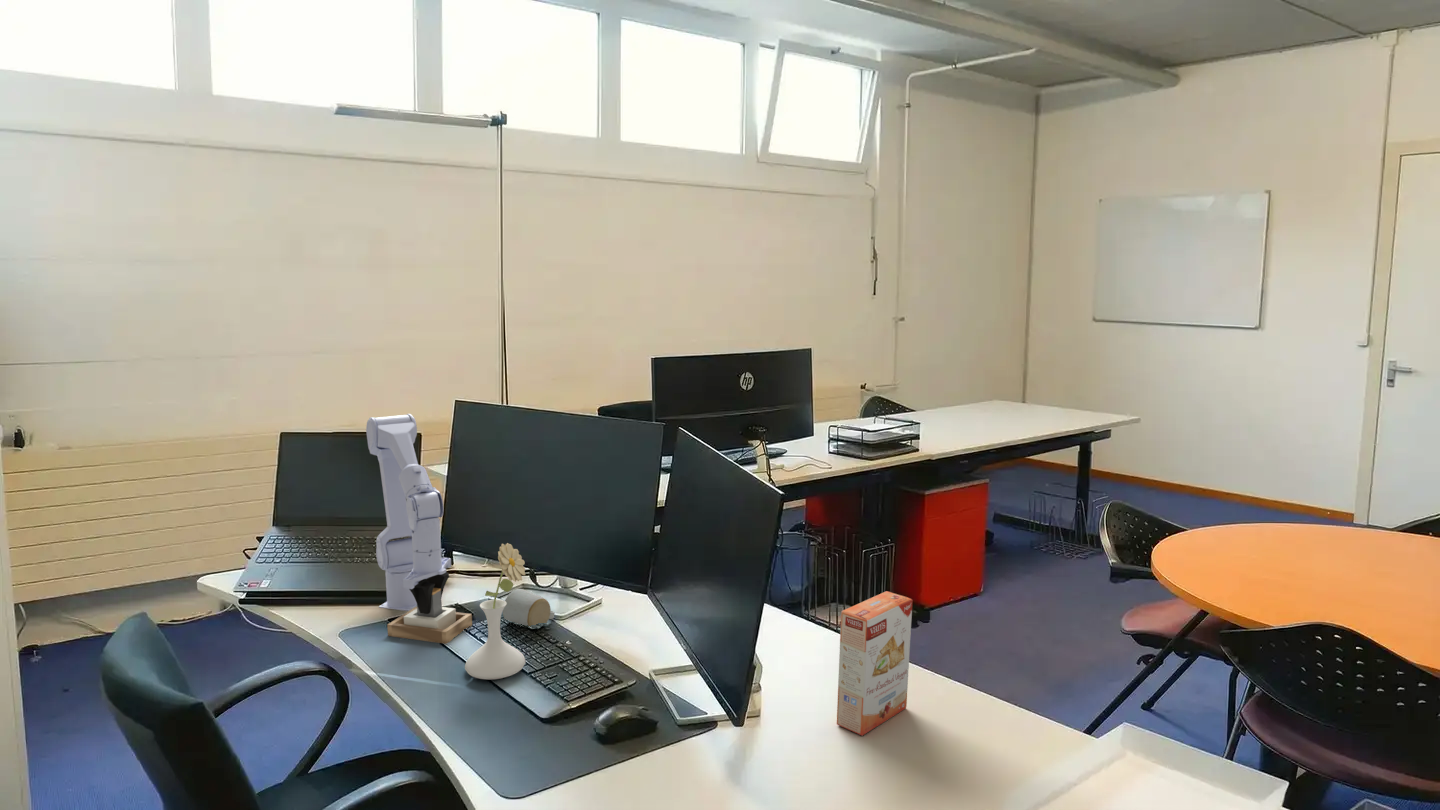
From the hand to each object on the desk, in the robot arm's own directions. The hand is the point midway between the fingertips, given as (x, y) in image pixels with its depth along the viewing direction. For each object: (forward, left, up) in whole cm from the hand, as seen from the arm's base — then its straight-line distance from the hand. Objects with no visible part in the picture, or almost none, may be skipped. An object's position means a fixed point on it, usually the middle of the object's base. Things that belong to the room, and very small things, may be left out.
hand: (429, 609), depth 191 cm
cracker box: (+10, +95, -5) cm, 96 cm away
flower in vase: (+12, +23, -5) cm, 26 cm away
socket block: (0, 0, -5) cm, 5 cm away
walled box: (0, 0, -5) cm, 5 cm away
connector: (0, 0, -3) cm, 3 cm away
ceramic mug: (-10, +18, -5) cm, 22 cm away
